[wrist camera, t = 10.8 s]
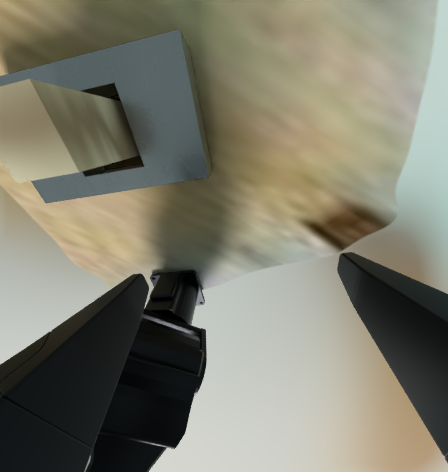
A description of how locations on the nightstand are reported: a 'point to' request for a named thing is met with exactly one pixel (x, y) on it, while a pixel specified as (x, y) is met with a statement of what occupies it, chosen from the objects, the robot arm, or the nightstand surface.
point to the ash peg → (60, 131)
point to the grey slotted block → (135, 113)
